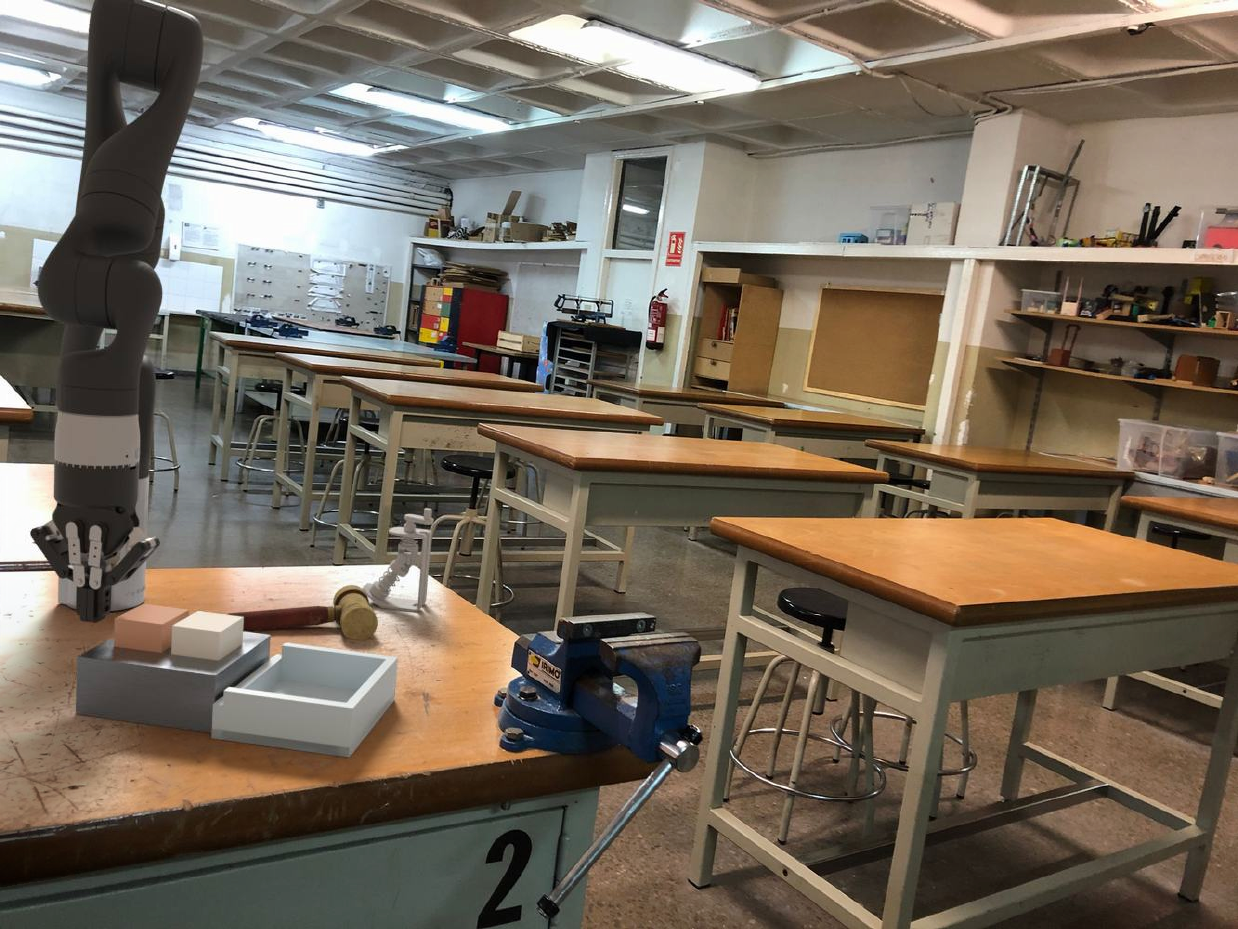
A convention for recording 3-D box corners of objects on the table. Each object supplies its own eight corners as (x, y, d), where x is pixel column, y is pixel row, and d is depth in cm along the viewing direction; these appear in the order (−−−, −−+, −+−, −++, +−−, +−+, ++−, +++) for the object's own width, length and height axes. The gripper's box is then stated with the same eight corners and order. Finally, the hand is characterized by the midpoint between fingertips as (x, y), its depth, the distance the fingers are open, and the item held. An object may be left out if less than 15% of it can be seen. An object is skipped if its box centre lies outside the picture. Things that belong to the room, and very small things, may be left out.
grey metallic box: (75, 714, 90) (77, 656, 90) (146, 670, 102) (148, 618, 101) (212, 733, 90) (215, 675, 89) (267, 686, 102) (270, 635, 101)
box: (211, 738, 89) (213, 689, 88) (274, 683, 103) (277, 641, 102) (349, 757, 88) (352, 708, 87) (394, 700, 102) (397, 657, 101)
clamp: (367, 596, 136) (374, 498, 134) (430, 604, 136) (439, 505, 134) (358, 605, 132) (365, 503, 130) (424, 612, 132) (432, 511, 130)
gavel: (201, 621, 111) (202, 595, 120) (202, 657, 112) (203, 629, 121) (378, 606, 119) (367, 583, 128) (378, 639, 120) (366, 614, 129)
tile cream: (171, 654, 93) (172, 625, 92) (196, 637, 98) (198, 610, 97) (218, 660, 92) (220, 632, 92) (242, 644, 97) (243, 617, 97)
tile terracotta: (113, 646, 93) (114, 618, 92) (142, 630, 98) (143, 603, 97) (161, 652, 93) (162, 624, 92) (187, 636, 98) (189, 609, 97)
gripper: (8, 453, 89) (6, 623, 92) (138, 469, 89) (132, 640, 91) (60, 444, 97) (57, 601, 99) (180, 459, 96) (174, 617, 99)
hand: (93, 619), depth 95 cm, fingers closed
